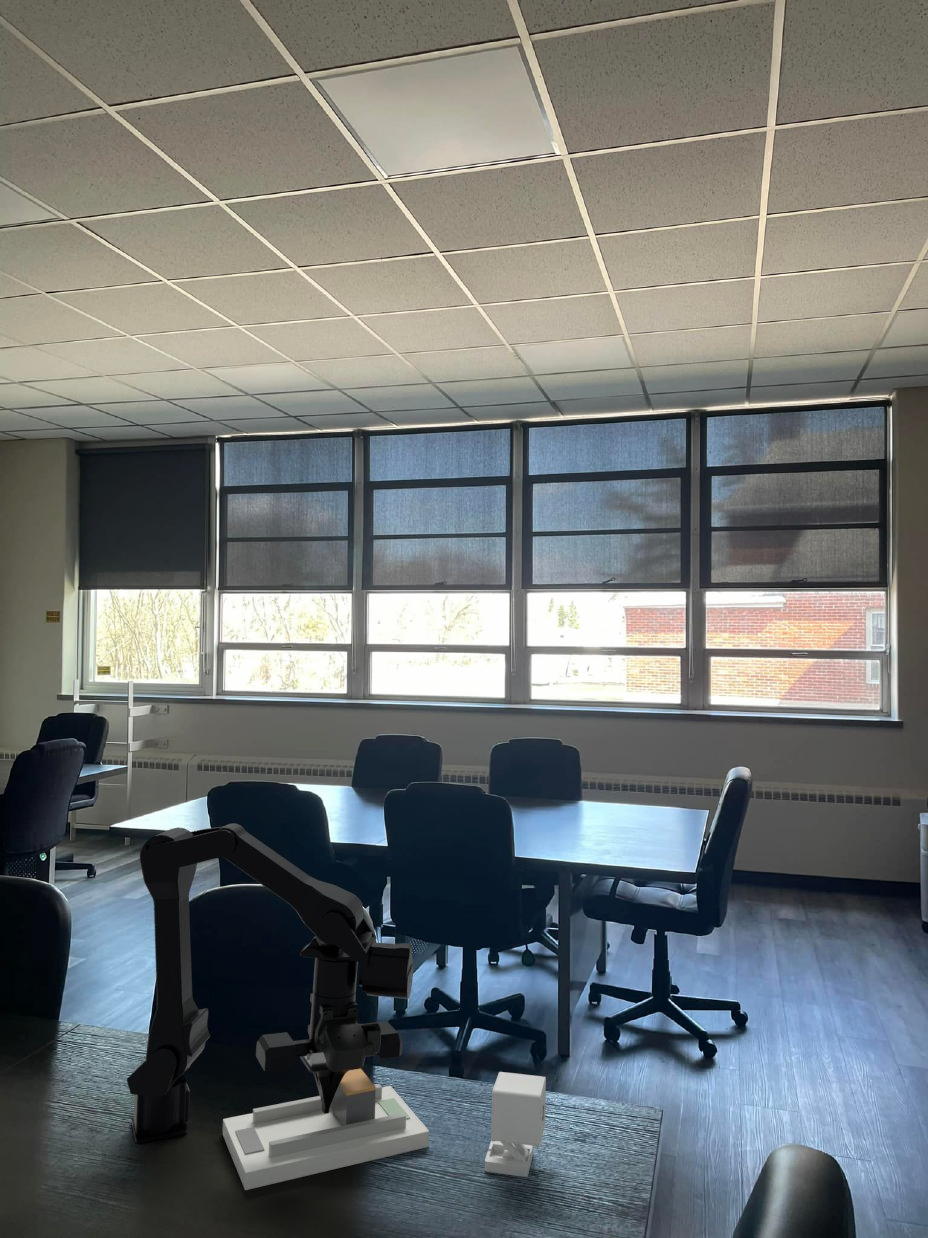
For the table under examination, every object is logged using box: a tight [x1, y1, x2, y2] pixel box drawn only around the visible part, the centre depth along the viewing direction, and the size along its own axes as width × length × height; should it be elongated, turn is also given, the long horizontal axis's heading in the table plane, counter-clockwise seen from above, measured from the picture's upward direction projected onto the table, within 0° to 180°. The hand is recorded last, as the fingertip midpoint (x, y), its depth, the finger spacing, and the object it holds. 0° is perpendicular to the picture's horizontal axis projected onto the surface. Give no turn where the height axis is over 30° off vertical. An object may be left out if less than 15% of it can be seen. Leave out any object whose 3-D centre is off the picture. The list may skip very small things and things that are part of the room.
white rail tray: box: [222, 1083, 430, 1191], centre depth 117 cm, size 24×14×4 cm, turn 116°
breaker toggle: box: [332, 1068, 376, 1126], centre depth 119 cm, size 4×6×5 cm, turn 26°
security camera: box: [484, 1071, 547, 1178], centre depth 113 cm, size 6×7×10 cm
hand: (325, 1112), depth 117 cm, fingers closed
